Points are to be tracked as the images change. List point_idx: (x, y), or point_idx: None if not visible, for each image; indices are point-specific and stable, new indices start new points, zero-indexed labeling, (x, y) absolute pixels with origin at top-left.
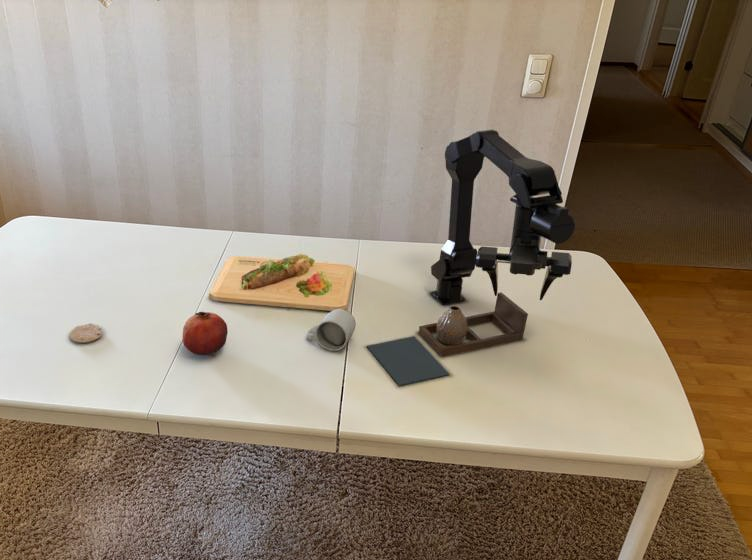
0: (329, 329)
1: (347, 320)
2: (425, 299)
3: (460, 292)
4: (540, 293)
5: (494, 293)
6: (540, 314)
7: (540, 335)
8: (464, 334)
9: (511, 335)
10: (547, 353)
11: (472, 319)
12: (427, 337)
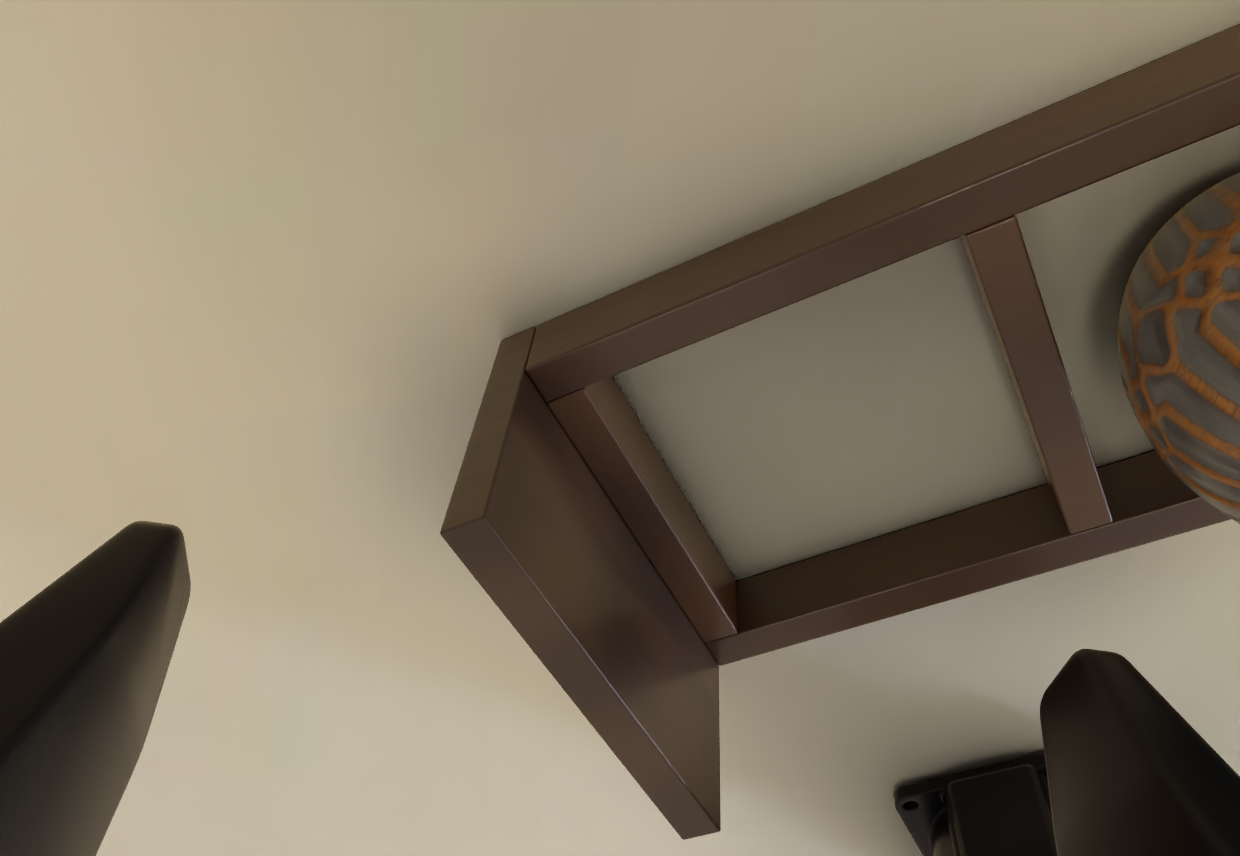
0: None
1: None
2: None
3: (971, 852)
4: (144, 686)
5: (1161, 697)
6: (343, 670)
7: (338, 418)
8: (1213, 233)
9: (617, 328)
10: (264, 131)
11: (941, 560)
12: None
